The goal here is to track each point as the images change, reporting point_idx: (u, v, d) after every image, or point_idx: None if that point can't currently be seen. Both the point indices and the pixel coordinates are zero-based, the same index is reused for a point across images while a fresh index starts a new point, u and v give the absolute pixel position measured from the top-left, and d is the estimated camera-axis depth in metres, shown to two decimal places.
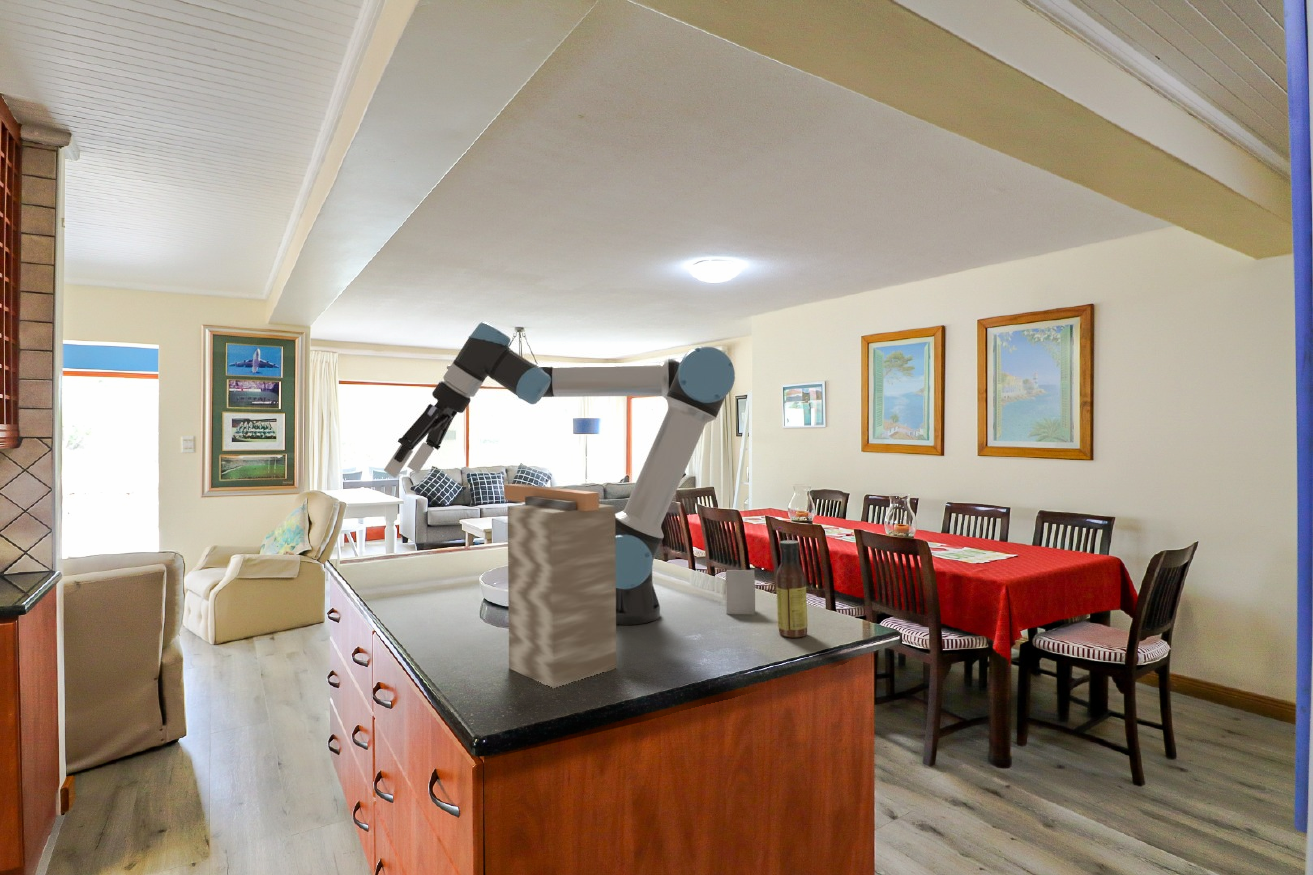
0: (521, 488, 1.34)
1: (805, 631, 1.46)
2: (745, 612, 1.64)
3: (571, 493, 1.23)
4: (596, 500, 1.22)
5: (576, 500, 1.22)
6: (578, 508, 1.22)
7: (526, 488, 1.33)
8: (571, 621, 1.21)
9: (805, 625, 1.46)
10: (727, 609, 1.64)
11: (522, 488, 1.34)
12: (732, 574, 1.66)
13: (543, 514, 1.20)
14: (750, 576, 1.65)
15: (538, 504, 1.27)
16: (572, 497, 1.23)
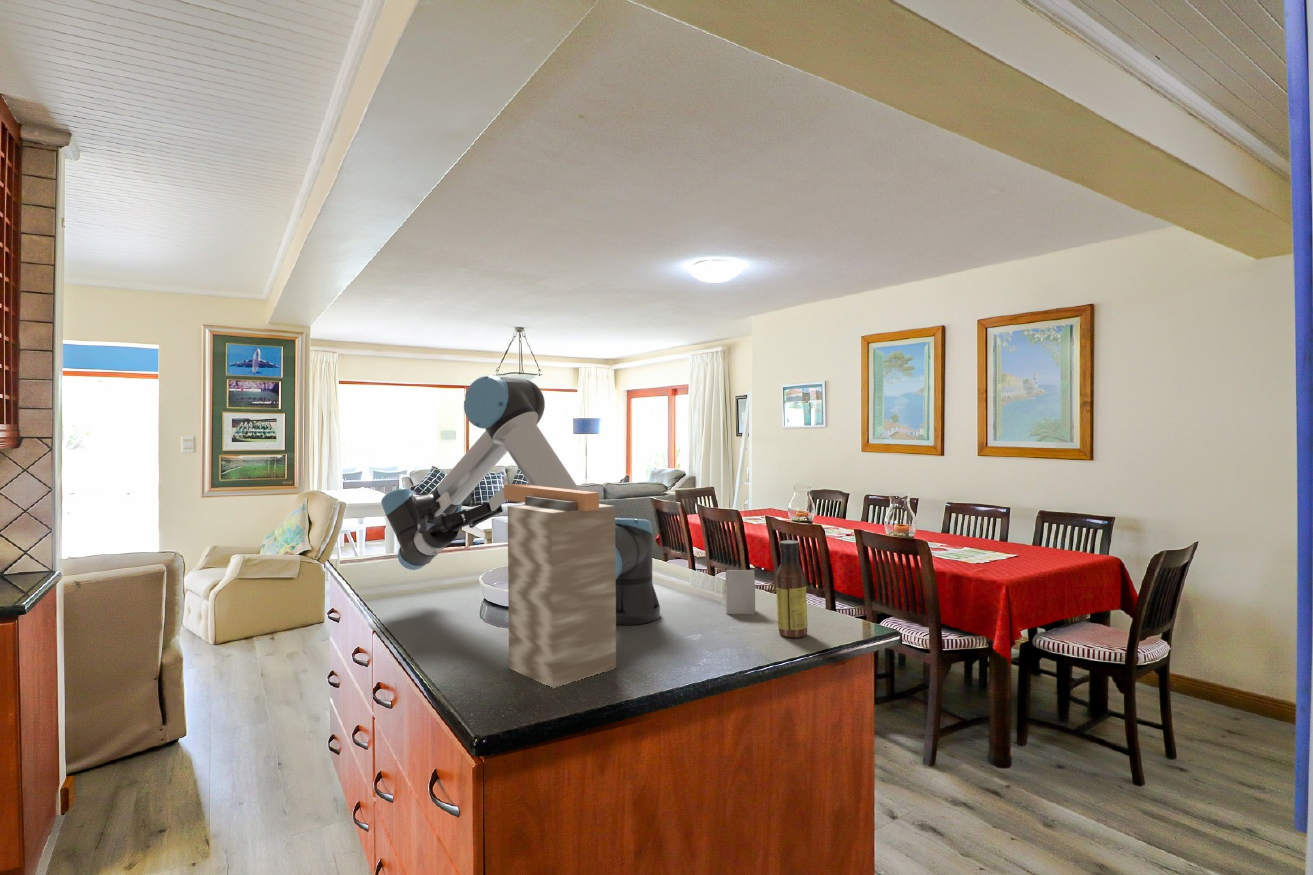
0: (521, 488, 1.34)
1: (805, 631, 1.46)
2: (745, 612, 1.64)
3: (571, 493, 1.23)
4: (596, 500, 1.22)
5: (576, 500, 1.22)
6: (578, 508, 1.22)
7: (526, 488, 1.33)
8: (571, 621, 1.21)
9: (805, 625, 1.46)
10: (727, 609, 1.64)
11: (522, 488, 1.34)
12: (732, 574, 1.66)
13: (543, 514, 1.20)
14: (750, 576, 1.65)
15: (538, 504, 1.27)
16: (572, 497, 1.23)
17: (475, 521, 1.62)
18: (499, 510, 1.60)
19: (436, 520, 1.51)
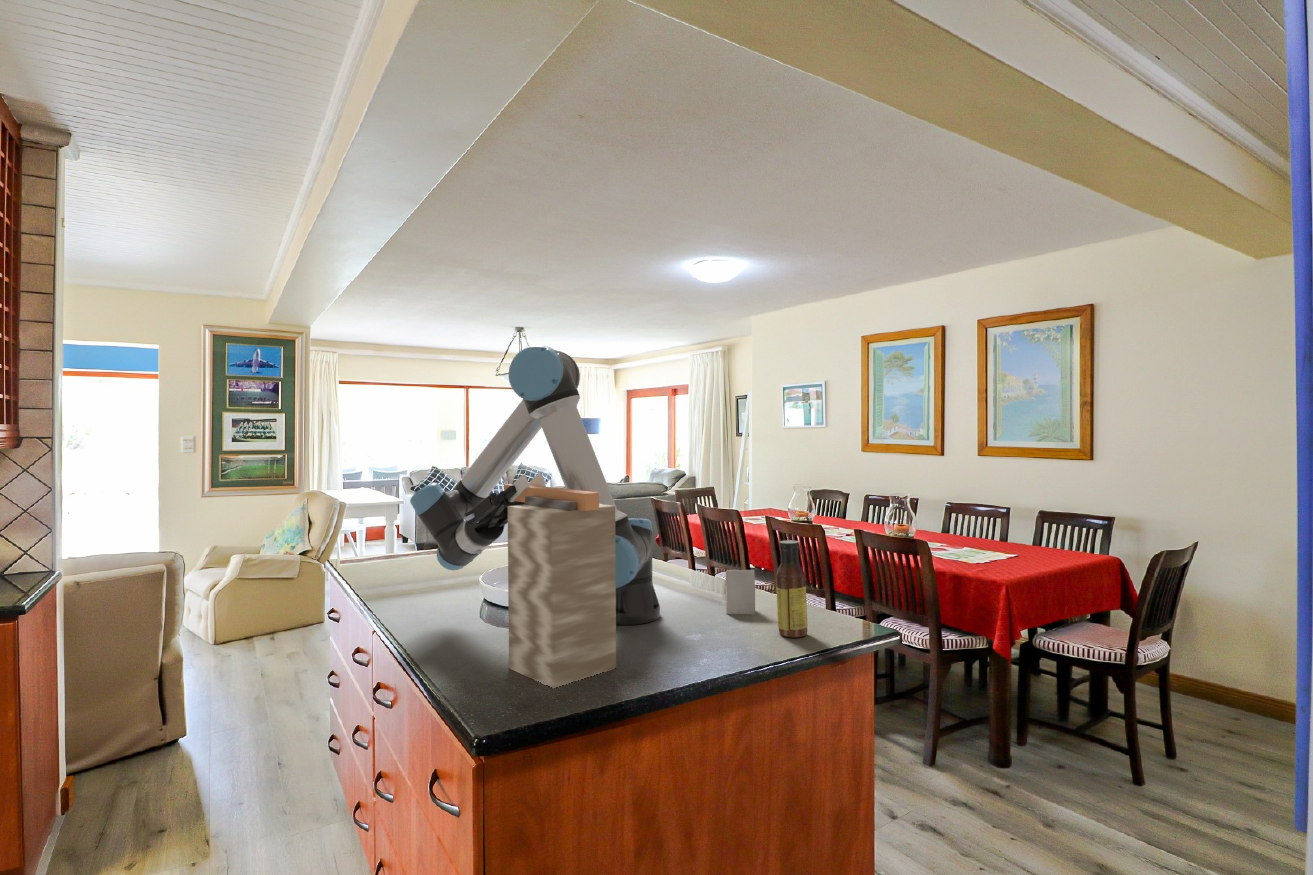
0: None
1: (805, 631, 1.46)
2: (745, 612, 1.64)
3: (571, 493, 1.23)
4: (596, 500, 1.22)
5: (576, 500, 1.22)
6: (578, 508, 1.22)
7: None
8: (571, 621, 1.21)
9: (805, 625, 1.46)
10: (727, 609, 1.64)
11: None
12: (732, 574, 1.66)
13: (543, 514, 1.20)
14: (750, 576, 1.65)
15: (538, 504, 1.27)
16: (572, 497, 1.23)
17: None
18: None
19: (502, 509, 1.38)
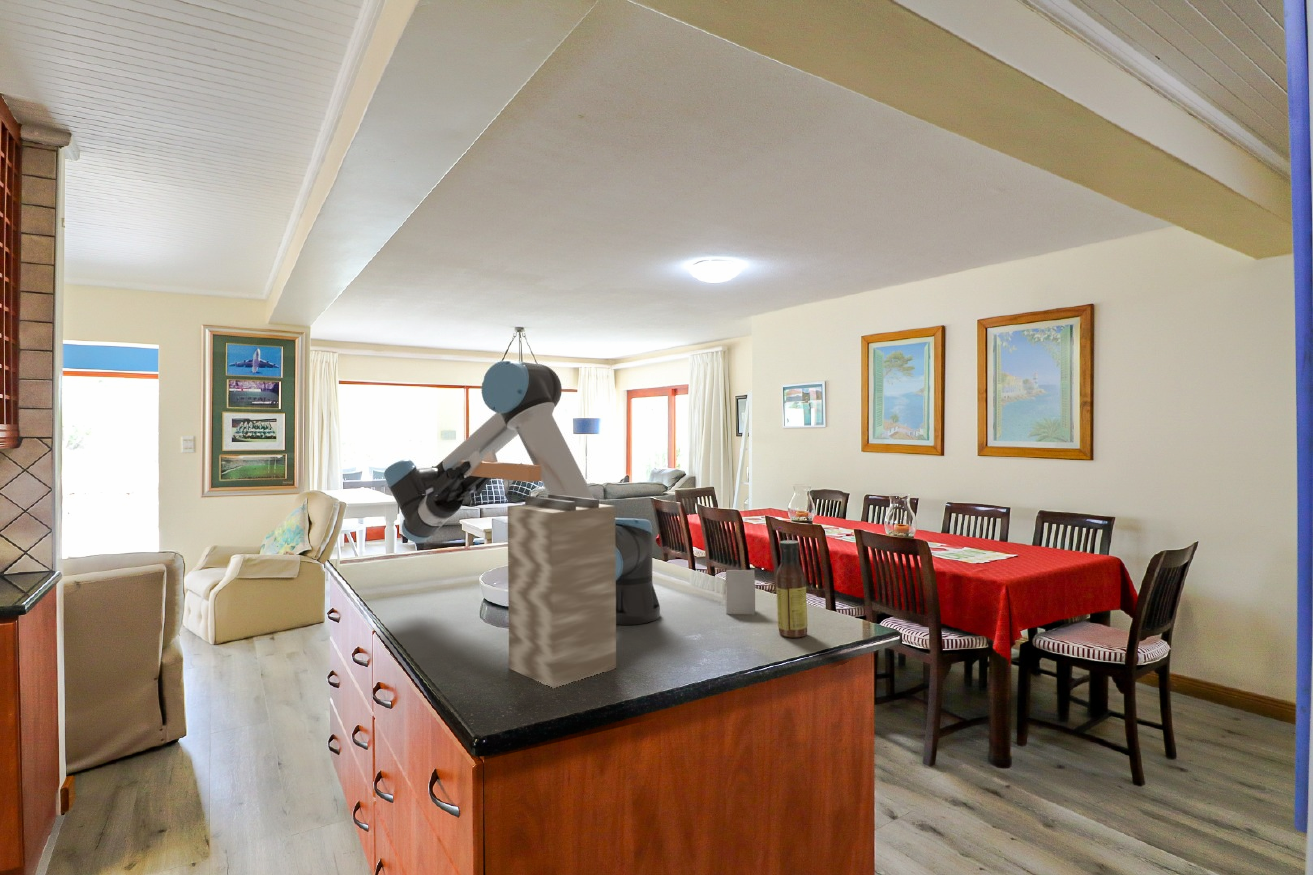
0: None
1: (805, 631, 1.46)
2: (745, 612, 1.64)
3: (516, 466, 1.35)
4: (539, 473, 1.34)
5: (521, 472, 1.34)
6: (522, 479, 1.34)
7: None
8: (571, 621, 1.21)
9: (805, 625, 1.46)
10: (727, 609, 1.64)
11: None
12: (732, 574, 1.66)
13: (543, 514, 1.20)
14: (750, 576, 1.65)
15: (538, 504, 1.27)
16: (517, 469, 1.35)
17: (476, 488, 1.58)
18: None
19: (458, 483, 1.51)
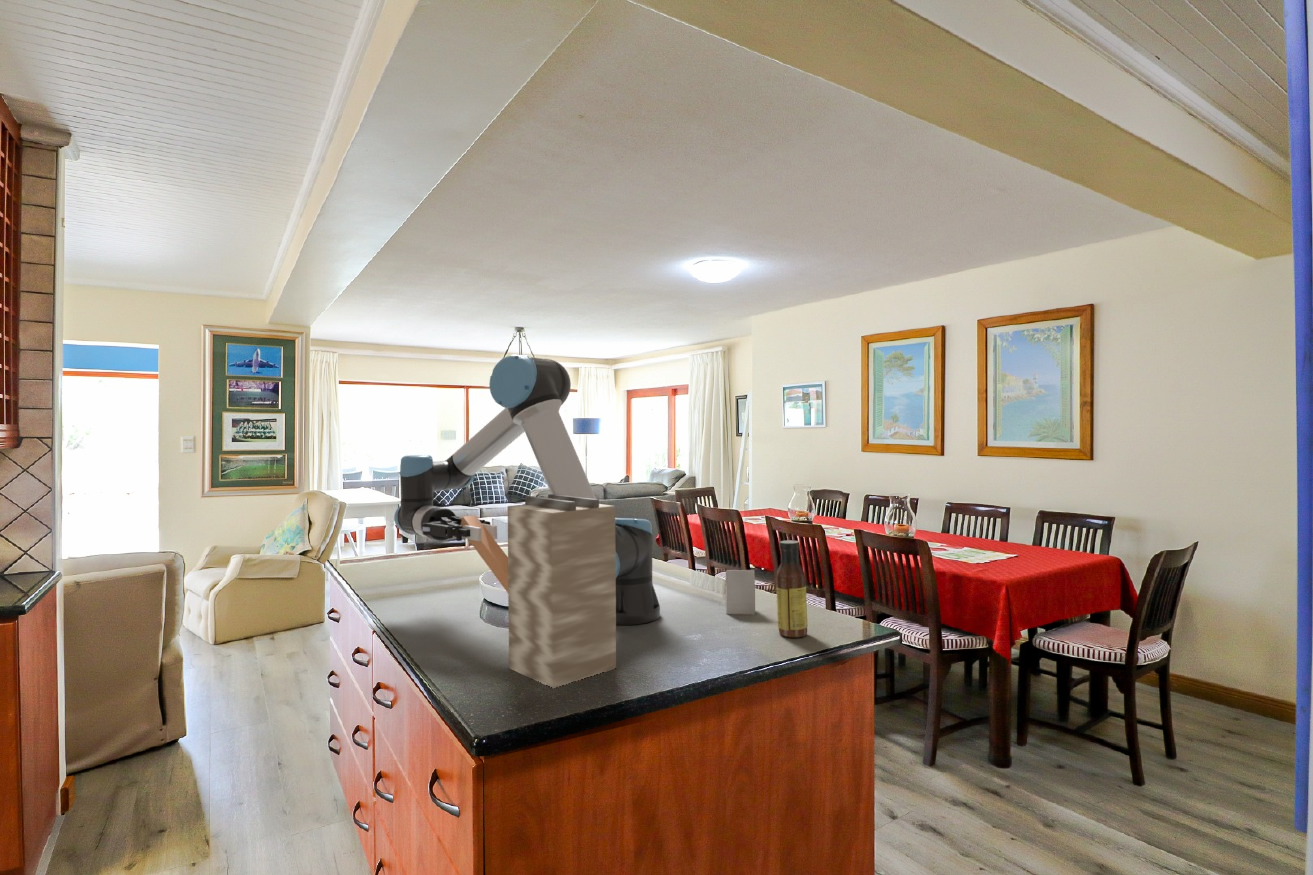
0: None
1: (805, 631, 1.46)
2: (745, 612, 1.64)
3: None
4: None
5: None
6: None
7: None
8: (571, 621, 1.21)
9: (805, 625, 1.46)
10: (727, 609, 1.64)
11: None
12: (732, 574, 1.66)
13: (543, 514, 1.20)
14: (750, 576, 1.65)
15: (538, 504, 1.27)
16: None
17: None
18: None
19: None
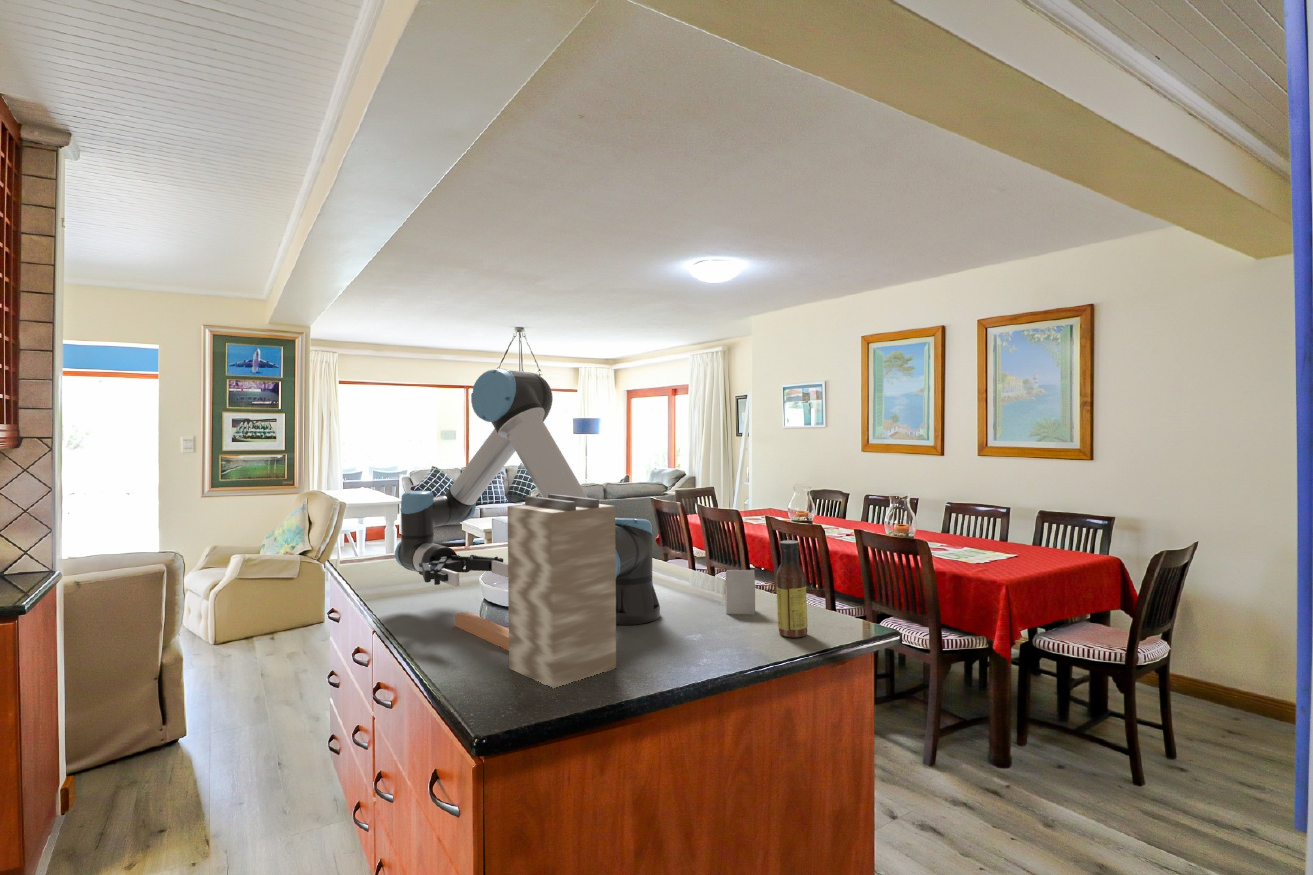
0: (467, 621, 1.51)
1: (805, 631, 1.46)
2: (745, 612, 1.64)
3: (505, 637, 1.39)
4: None
5: (508, 644, 1.38)
6: None
7: (471, 622, 1.50)
8: (571, 621, 1.21)
9: (805, 625, 1.46)
10: (727, 609, 1.64)
11: (468, 621, 1.51)
12: (732, 574, 1.66)
13: (543, 514, 1.20)
14: (750, 576, 1.65)
15: (538, 504, 1.27)
16: (505, 640, 1.39)
17: None
18: None
19: None
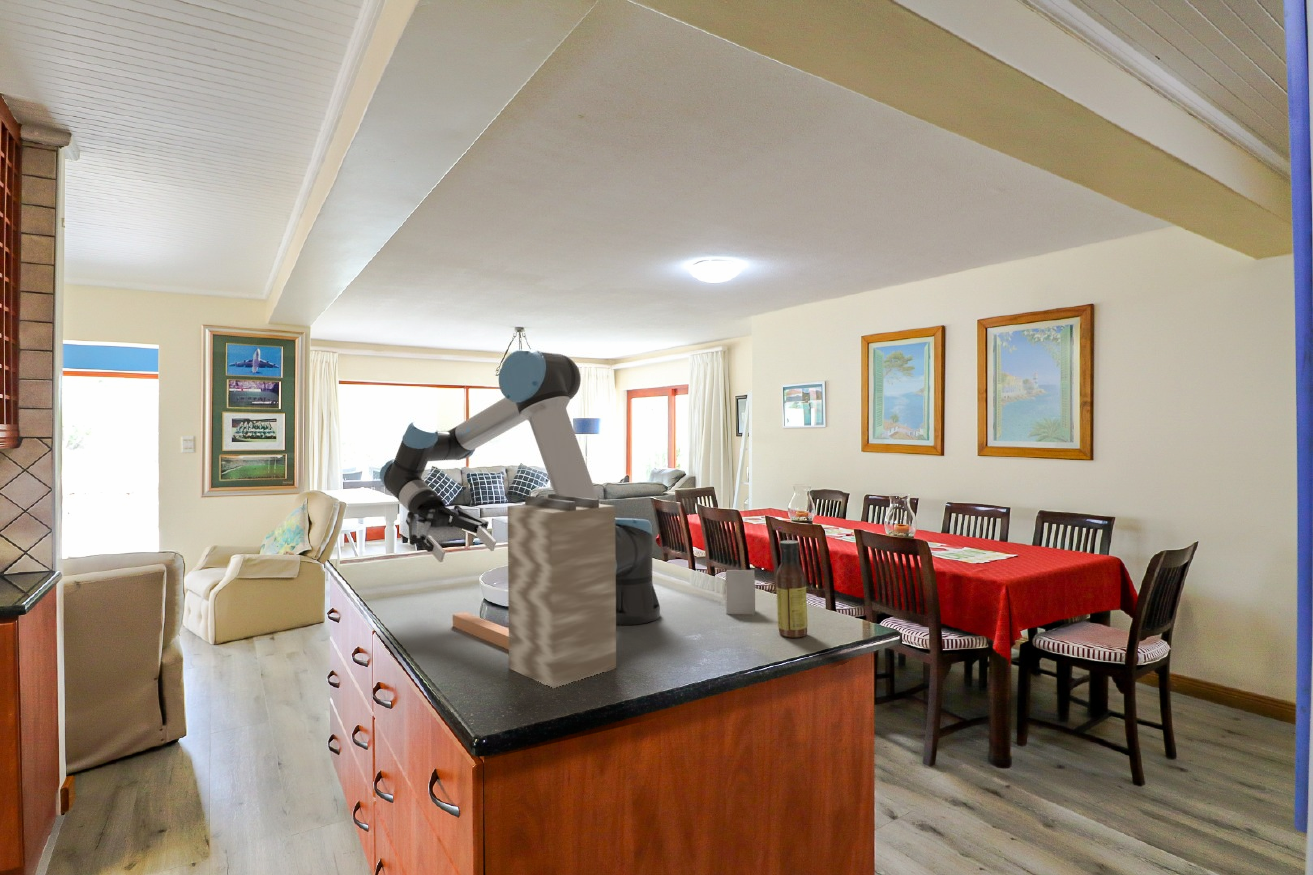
0: (466, 621, 1.51)
1: (805, 631, 1.46)
2: (745, 612, 1.64)
3: (506, 636, 1.40)
4: None
5: None
6: None
7: (470, 622, 1.50)
8: (571, 621, 1.21)
9: (805, 625, 1.46)
10: (727, 609, 1.64)
11: (467, 621, 1.51)
12: (732, 574, 1.66)
13: (543, 514, 1.20)
14: (750, 576, 1.65)
15: (538, 504, 1.27)
16: (507, 640, 1.39)
17: None
18: None
19: None
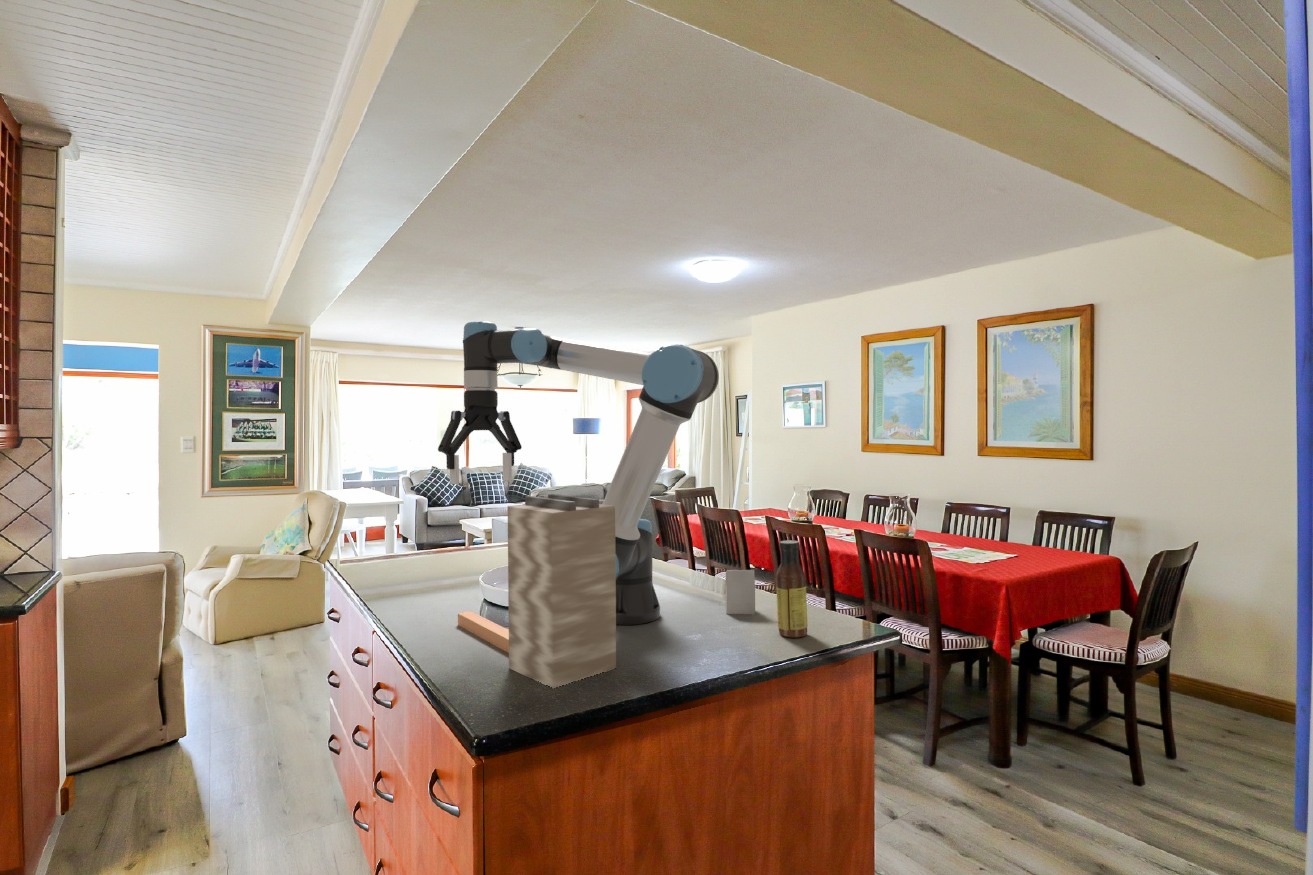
0: (469, 620, 1.51)
1: (805, 631, 1.46)
2: (745, 612, 1.64)
3: (502, 637, 1.39)
4: None
5: (505, 644, 1.38)
6: None
7: (472, 622, 1.50)
8: (571, 621, 1.21)
9: (805, 625, 1.46)
10: (727, 609, 1.64)
11: (469, 621, 1.51)
12: (732, 574, 1.66)
13: (543, 514, 1.20)
14: (750, 576, 1.65)
15: (538, 504, 1.27)
16: (502, 640, 1.39)
17: (501, 423, 1.65)
18: None
19: None
